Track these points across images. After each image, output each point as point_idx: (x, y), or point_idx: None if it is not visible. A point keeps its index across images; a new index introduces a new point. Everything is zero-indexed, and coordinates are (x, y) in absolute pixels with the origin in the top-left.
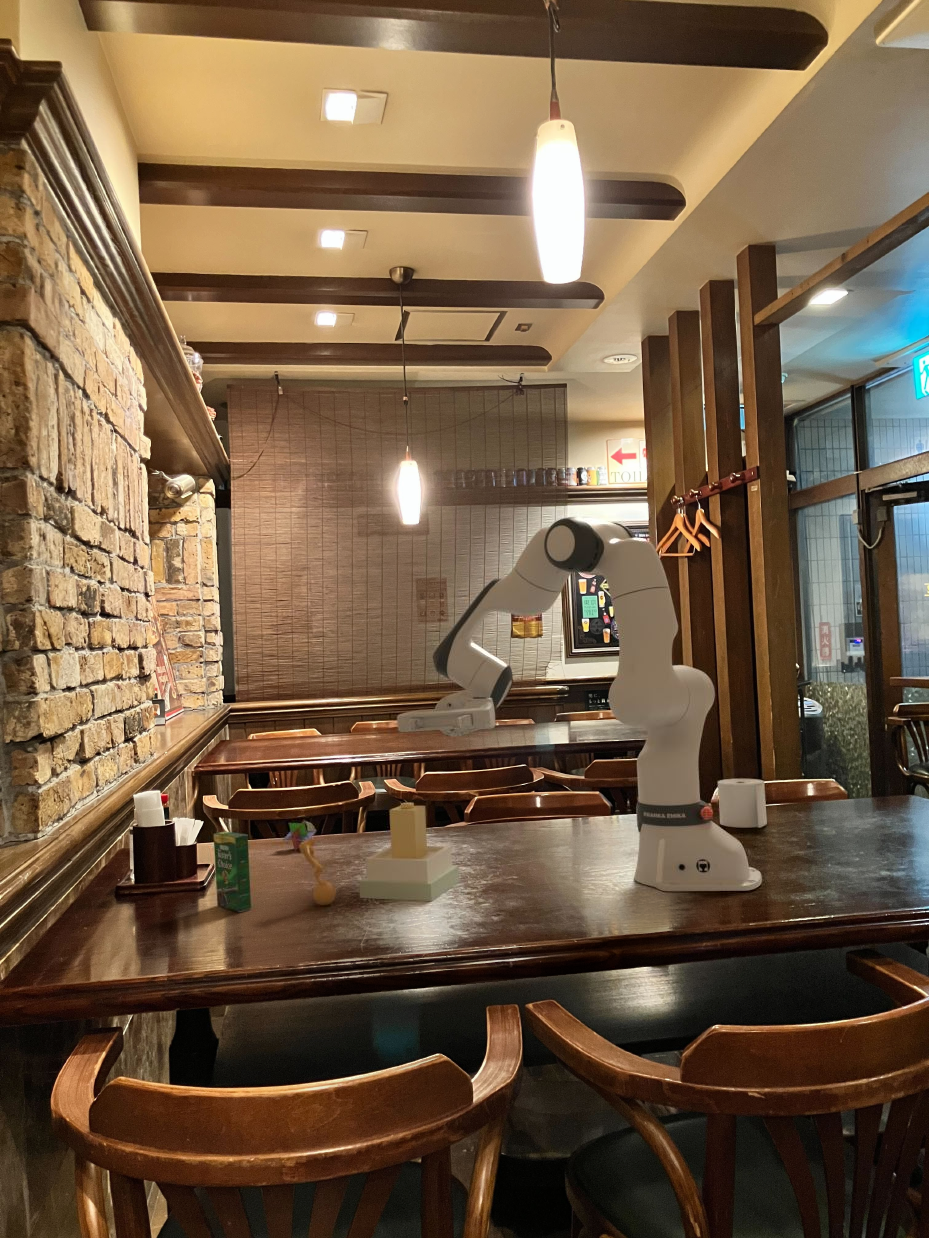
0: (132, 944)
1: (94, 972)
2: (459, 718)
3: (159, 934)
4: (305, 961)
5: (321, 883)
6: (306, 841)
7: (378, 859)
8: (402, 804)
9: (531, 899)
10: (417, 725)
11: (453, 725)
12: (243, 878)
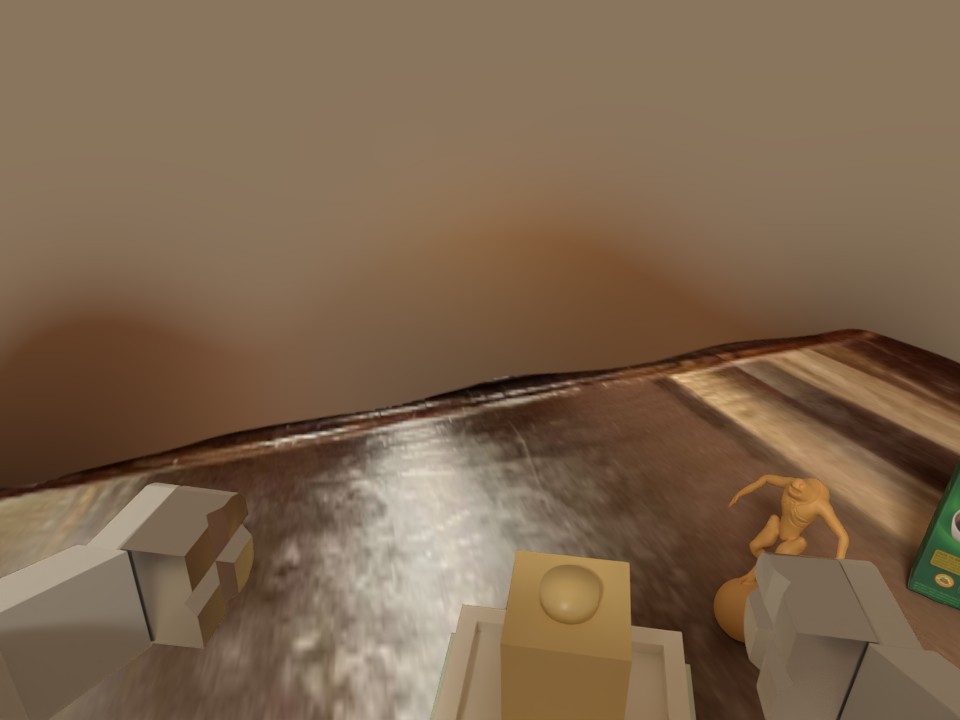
0: (912, 427)
1: (836, 363)
2: (150, 484)
3: (925, 461)
4: (575, 394)
5: (747, 574)
6: (806, 479)
7: (633, 627)
8: (583, 569)
9: (171, 687)
10: (778, 674)
11: (246, 542)
12: (934, 518)
